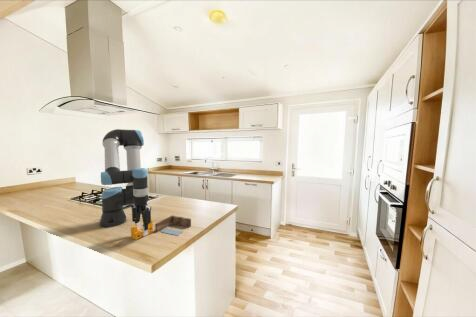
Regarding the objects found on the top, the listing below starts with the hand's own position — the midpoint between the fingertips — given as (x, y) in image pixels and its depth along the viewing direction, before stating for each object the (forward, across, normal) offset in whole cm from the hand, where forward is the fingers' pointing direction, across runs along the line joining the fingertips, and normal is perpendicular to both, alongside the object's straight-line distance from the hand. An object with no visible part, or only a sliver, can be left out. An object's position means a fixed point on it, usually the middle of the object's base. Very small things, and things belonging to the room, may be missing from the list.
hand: (141, 234), depth 109 cm
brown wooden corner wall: (+1, +11, +14) cm, 18 cm away
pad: (+1, +13, +10) cm, 16 cm away
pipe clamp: (+1, 0, +1) cm, 1 cm away
